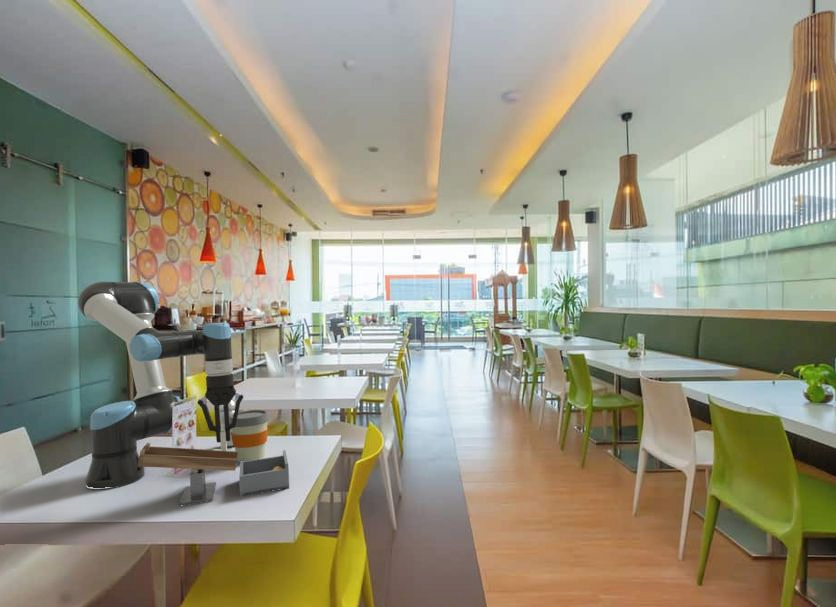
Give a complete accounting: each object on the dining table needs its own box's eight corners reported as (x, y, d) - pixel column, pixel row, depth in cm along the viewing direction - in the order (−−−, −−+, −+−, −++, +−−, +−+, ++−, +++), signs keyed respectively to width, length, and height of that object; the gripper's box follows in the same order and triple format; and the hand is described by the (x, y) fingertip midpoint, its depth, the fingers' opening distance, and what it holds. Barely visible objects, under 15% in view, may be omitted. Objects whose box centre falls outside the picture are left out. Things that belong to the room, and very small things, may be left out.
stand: (185, 489, 131) (184, 465, 131) (215, 484, 134) (214, 460, 134) (179, 506, 120) (178, 479, 120) (212, 500, 122) (211, 474, 122)
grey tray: (241, 480, 136) (240, 456, 136) (286, 472, 141) (285, 450, 141) (240, 496, 124) (239, 471, 124) (289, 488, 129) (288, 463, 129)
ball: (270, 481, 133) (267, 469, 133) (280, 475, 136) (277, 463, 136) (278, 482, 131) (274, 470, 131) (288, 475, 134) (284, 464, 134)
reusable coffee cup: (277, 452, 161) (275, 410, 161) (254, 464, 149) (252, 419, 149) (247, 450, 165) (245, 409, 165) (223, 462, 153) (221, 418, 153)
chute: (149, 453, 133) (153, 435, 133) (236, 457, 141) (239, 440, 141) (135, 471, 118) (139, 451, 118) (234, 475, 125) (237, 456, 126)
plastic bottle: (240, 446, 170) (238, 393, 170) (221, 450, 167) (219, 395, 167) (237, 442, 176) (235, 390, 176) (218, 445, 172) (216, 393, 172)
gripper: (194, 378, 130) (199, 459, 130) (242, 373, 135) (247, 452, 135) (197, 374, 137) (201, 452, 137) (242, 370, 142) (247, 445, 142)
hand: (224, 452), depth 136 cm, fingers closed
